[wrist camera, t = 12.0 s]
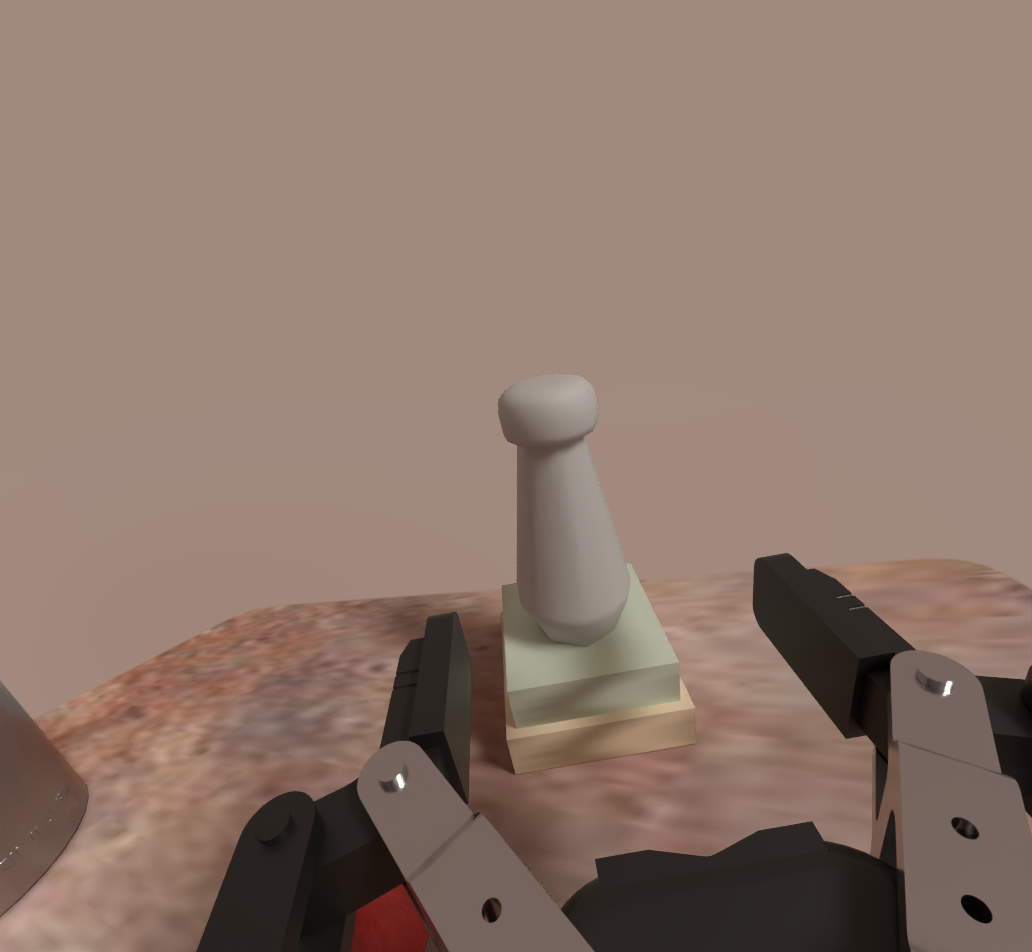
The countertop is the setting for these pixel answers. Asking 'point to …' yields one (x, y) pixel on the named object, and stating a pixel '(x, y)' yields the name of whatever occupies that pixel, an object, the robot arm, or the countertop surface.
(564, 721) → the brick base
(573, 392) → the salt shaker
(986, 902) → the robot arm
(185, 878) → the countertop surface
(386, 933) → the onion
